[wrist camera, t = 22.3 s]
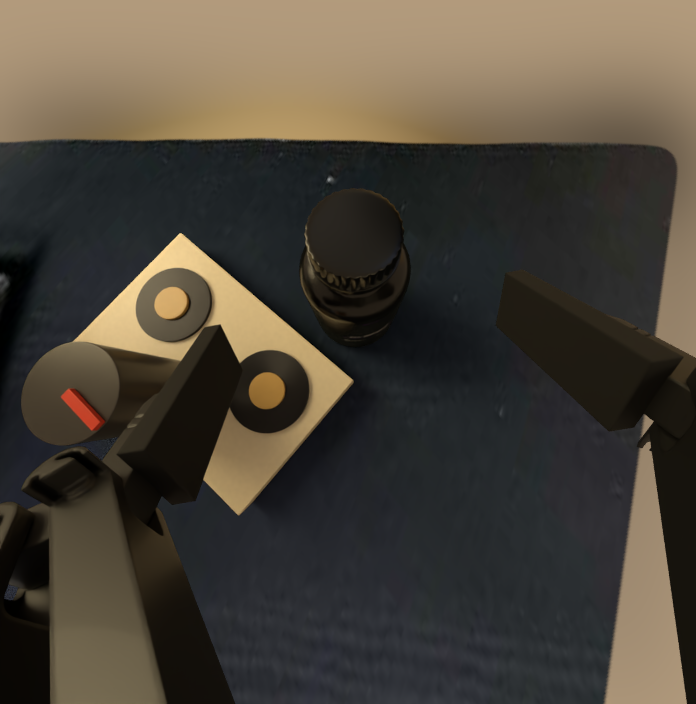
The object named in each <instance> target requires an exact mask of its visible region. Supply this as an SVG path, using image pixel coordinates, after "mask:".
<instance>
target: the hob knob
mask: <svg viewBox="0 0 696 704" xmlns="http://www.w3.org/2000/svg"><path fill="white" fill-rule="evenodd" d="M179 363H180V360H175V359H170V358H164V357H159V356H154V355H149V354H144V353H139V352H134V351H129V350H124V349H119V348H114V347H109V346H104V345H99V344H94V343H89V342H71V343H66V344H63V345H60V346H58V347H56V348H54V349H52V350H50V351H49V352H48V353H46V354H45V355H44V356H43V357H42V358H40V359H39V360H38V362H37V363H36V364H35V365H34V367H33V368H32V369H31V371H30V373H29V374H28V376H27V378H26V381H25V383H24V387H23V390H22V396H21V409H22V414H23V417H24V420H25V423H26V424H27V426H28V428H29V429H30V431H31V432H32V433H33V434H34V435H35V436H36V437H38V438H39V439H41V440H42V441H44V442H47V443H50V444H53V445H73V444H79V443H85V442H91V441H97V440H103V439H109V438H115V437H119V436H120V435H121V434H122V432H123V431H124V429H127V425H128V424H129V423H130V421H131V420H132V419H134V416H135V414H136V413H137V411H138V410H139V409H140V407H141V406H142V405H143V404H144V403H145V402H146V401H147V400H148V399H150V398H151V397H152V396H153V395H154V394H157V393H159V392H160V390H161V389H162V387H163V386H164V385H165V383H166V382H167V380H168V379H169V377H170V376H171V374H172V373H173V372H174V370H175V369H176V367H177V366H178V364H179Z"/></svg>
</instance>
